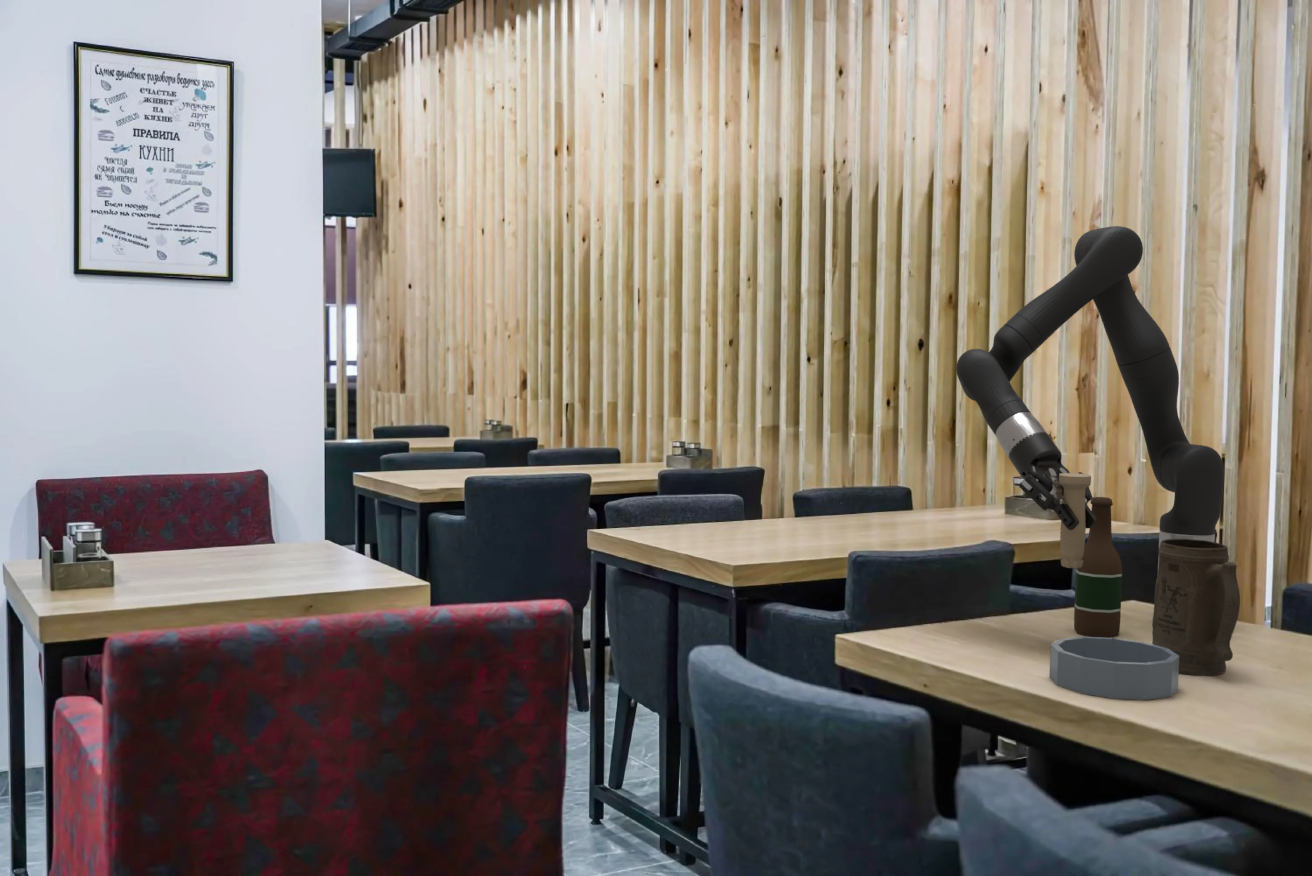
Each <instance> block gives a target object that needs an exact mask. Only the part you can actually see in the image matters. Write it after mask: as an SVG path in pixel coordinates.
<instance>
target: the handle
mask: <svg viewBox="0 0 1312 876" xmlns="http://www.w3.org/2000/svg"><path fill="white" fill-rule="evenodd" d="M1091 483H1092V475H1091V474H1086V473H1083V474H1078V472H1077V473H1073V472H1070V473H1062V474H1059V484H1060V485H1061V486H1063V488H1064V497H1063V498H1064V500H1065V502H1066V503H1065V504H1068V506H1069V507H1070V508H1071V510H1072V511H1073V513H1074V514H1075V516H1076V517H1077V519H1078V520H1079V524H1078V525H1077V526H1076V527H1075V528H1074V529H1073V530H1068V529H1067V527H1066V526H1065V525H1064V524H1063V523H1062V521H1061V520H1060V533H1059V534H1060V536H1059V541H1060V543H1059V545H1060V546H1059V547H1060V549H1059V550H1060V556H1061V557H1062V558H1060V565H1061V566H1062V567H1063V568H1067V569H1076V568H1081V567H1082V564H1083V560H1082V557H1083V555H1084V548H1085V544H1086V531H1087V530H1086V529H1087V528H1086V523H1085V489H1086V488H1087V487H1089V488H1090V486H1091ZM1065 504H1064V505H1065Z"/></svg>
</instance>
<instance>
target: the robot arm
mask: <svg viewBox="0 0 1312 876" xmlns="http://www.w3.org/2000/svg"><path fill="white" fill-rule="evenodd" d="M1073 252H1074V254H1073V255H1074V263H1075V267H1074V268H1073V269H1072V270H1070V272H1069V273H1068V274H1067V275H1065V276H1064V277H1063V278H1062V279H1060V280H1059V281H1058V282H1056V283H1055V284H1054V285H1053V286H1051V287H1050V288H1048V289H1047V290H1045V291H1044V292H1041V294H1039V295H1038V296H1036V297H1035V298H1033V299H1032V300H1030V301H1029V302H1028V303H1027V304H1025V305H1024V306H1023V307H1022V308H1021V309H1019V310H1018V311H1017V312H1016V313H1015V314H1014V315H1013V316H1012V317H1011V318H1010V319H1009V320H1007V322H1005V323H1004V324H1003V326H1001V327H1000V328H999V329H998V330H997V331H996V332H995V334H994V337H993V343H992V347H991V349H990V350H989V351H987V350H985V349H981V348H972V349H969V350H966V351H964V352H963V353H962V354H961V355H960V356H959V358H958V359H957V361H956V366H955V368H956V369H955V371H956V375H957V378H958V381H959V383H960V385H961V388H962V391H963V392H964V394H965V395H966V396H967V398H968V399H970V400H972V401H973V402H976V404H977V405H978V407H979V409H980V412H981V414H982V416H983V419H984V420H985V422H986V423H987V425H988V427H989V428H990V429H991V431H992V433H993V435H995V437H996V439H997V441H998V443H999V445H1000V447H1001V448H1002V450H1003V452H1004V453H1005V454H1006V457H1008V459H1009V460H1010V463H1011V464H1012V465H1013V466H1014V468H1015V469H1016V471H1017V473H1018V474H1019V475H1020V477H1021V478H1022V480H1021V482H1020V483H1018V487H1019V488H1020V489H1021V491H1023V492H1024V494H1026V495H1027V496H1028V497H1029V498H1030V499H1031V500H1032V501H1033V502H1034V503H1035V504H1036V505H1038V506H1039V507H1040V508H1041V509H1042V510H1043V511H1047V510H1050V511H1051V512H1052V513H1054V514H1056V515H1057V517H1058V518H1059V520H1060V522H1061V521H1062V523H1063V524H1064V525H1065V526H1066V527H1067V529H1068V530H1073V529H1074V528H1075V527H1076V526H1077V525H1078V524H1079V520H1078V519H1077V517H1076V516H1075V514H1074V513H1073V511H1072V510H1071V508H1070V507H1069V506H1068V504H1065V503H1066V502H1065V500H1064V498H1063V497H1064V488H1063V486H1061V485H1060V484H1059V474H1062V473H1071V472H1070V471H1069V469H1067V467H1066V466H1064V465H1063V464H1062V455H1063V454H1062V451H1061V450H1060V449H1059V448H1058V446H1057V445H1056V443H1055V441H1054V440H1053V439H1052V437H1051V436H1050V435H1049V433H1048V432H1047V431H1046V429H1045V427H1044V426H1043V425H1042V424H1041V422H1040V421H1039V420H1038V419H1037V418H1036V417H1035V416H1034V414H1033V413H1032V412H1031V411H1030V410H1029V407H1027V405H1026V404H1025V402H1024V401H1023V400H1022V398H1021V397H1020V396H1019V395H1018V393H1017V392H1016V391H1015V390H1014V388H1013V386H1012V385H1011V383H1010V382H1011V381H1012V379H1013V378H1014V377H1015V375H1016V374H1017V373H1018V371H1019V369H1020V368H1021V366H1022V365H1023V363H1024V362H1025V360H1027V359H1028V358H1029V357H1030V356H1031V355H1032V354H1034V352H1035V351H1036V350H1038V348H1040V347H1041V346H1042V345H1043V344H1044V343H1045V342H1046V341H1047V340H1048V339H1049V338H1051V336H1052V335H1053V334H1055V332H1056V331H1057V330H1059V328H1061V327H1062V326H1063V325H1064V324H1065V323H1066V322H1067V321H1069V319H1070V318H1072V317H1073V316H1075V314H1076V313H1078V311H1080V310H1081V309H1083V308H1084V307H1085V306H1087V304H1088V303H1090V302H1091V301H1092V300H1093V302H1094V305H1095V306H1096V310H1097V312H1098V314H1099V316H1100V319H1101V322H1102V325H1103V328H1104V331H1105V333H1106V334H1105V335H1106V336H1107V338H1108V342H1109V344H1110V346H1111V350H1112V352H1113V355H1114V357H1115V361H1116V364H1117V367H1118V370H1119V372H1120V376H1121V377H1122V379H1123V382H1124V385H1125V387H1126V388H1127V389H1126V390H1127V391H1128V394H1129V396H1130V400H1131V403H1132V405H1133V408H1134V411H1135V414H1136V416H1137V420H1138V421H1139V424H1140V427H1141V430H1142V434H1143V437H1144V442H1145V445H1146V449H1147V453H1148V457H1149V461H1150V466H1151V468H1152V472H1153V475H1154V477H1155V479H1156V480H1157V483H1158V484H1159V485H1160V486H1161V487H1162V488H1163V489H1165V490H1166V491H1169V492H1171V493H1174V501H1173V506H1172V507H1171V509H1170V510H1169V511H1168V512H1165V513H1163V514H1161V516H1160V518H1159V528H1158V529H1159V532H1158V533H1159V534H1158V535H1159V537H1158V549H1159V548H1160V543H1161V541H1163V540H1167V539H1192V540H1205V541H1210V542H1215V539H1216V538H1215V537H1216V528H1217V527H1216V526H1217V524H1218V522H1219V519H1220V518H1221V514H1222V506H1223V494H1224V486H1225V485H1224V484H1225V465H1224V463H1223V459H1222V457H1221V455H1220V454H1219V452H1218V451H1217V450H1215V449H1214V448H1213V447H1210V446H1208V445H1203V444H1193V443H1191V442H1190V441H1189V440H1188V438H1187V436H1186V434H1185V433H1186V432H1184V431H1185V430H1184V429H1183V426H1182V424H1181V421H1180V418H1179V414H1178V395H1179V389H1180V388H1179V385H1180V377H1179V374H1180V373H1179V368H1178V364H1177V363H1176V360H1175V357H1174V354H1173V351H1172V349H1171V346H1170V343H1169V341H1168V339H1167V337H1166V335H1165V334H1164V332H1163V330H1162V329H1161V327H1160V326H1159V325H1158V323H1157V322H1156V321H1155V320H1154V318H1153V317H1152V316H1151V315H1150V313H1149V312H1148V311H1147V310H1146V308H1145V307H1144V306H1143V304H1142V303H1141V302H1140V300H1139V298H1138V297H1137V295H1136V292H1135V291H1134V288H1133V286H1132V283H1131V280H1130V276H1129V274H1131V273H1132V272H1133V271H1134V270H1136V269H1137V267H1138V266H1139V265H1140V262H1141V261H1142V258H1143V253H1144V247H1143V242H1142V240H1141V237H1140V236H1139V235H1138V233H1137V232H1135V230H1132V229H1131V228H1129V227H1125V226H1119V225H1117V226H1116V225H1113V226H1106V227H1099V228H1095V229H1092V230H1089V231H1086V232H1085V233H1083V234H1082V235H1081V236H1080V237H1079V239H1078V240H1077V242H1076V245H1075V246H1074V251H1073ZM1077 474H1084V473H1083V472H1081V471H1079V472H1077ZM1040 495H1041V497H1040ZM1092 498H1093V495H1092V491H1091V490H1090V486H1089V487H1087V488H1086V489H1085V523H1086V529H1090V528H1092V527H1093V526H1094V525H1095V524H1096V522H1097V519H1096V517H1095V515H1094V514H1093V513H1092V511H1091V510H1092V509H1090V507H1089V505H1088V503H1089V502H1091V499H1092ZM1064 504H1065V505H1064ZM1215 543H1216V542H1215ZM1158 568H1159V556H1158V562H1157V569H1158Z"/></svg>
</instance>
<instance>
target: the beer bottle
mask: <svg viewBox="0 0 1312 876" xmlns="http://www.w3.org/2000/svg"><path fill="white" fill-rule="evenodd" d="M1092 497H1093V496H1092ZM1089 502H1090V503H1089V504H1091V509H1090V510H1091V511H1092V513H1093V514H1094V515H1095V517H1096V519H1097V522H1096V524H1095V525H1094V526H1093V527H1092V528H1088V537H1087V540H1086V542H1085V544H1084V545H1085V548H1084V555H1083V557H1082V560H1083V564H1082V567H1081V568H1075V580H1074V581H1075V583H1074V584H1075V585H1074V607H1073V608H1074V609H1073V622H1074V623H1073V624H1074V625H1073V627H1074V631H1075V632H1076V633H1077V635H1080V636H1083V637H1105V638H1116V637H1118V636H1119V635H1120V630H1121V629H1120V628H1121V613H1122V612H1121V611H1122V592H1123V591H1122V589H1123V588H1122V586H1123V565H1122V564H1123V563H1122V560H1121V557H1120V554H1119V552H1118V551H1117V549H1116V548H1115V545H1114V543H1113V536H1112V506H1113V505H1114V504H1113V499H1112V498H1110V497H1105V496H1095V497H1093V498H1092V499H1091V500H1090V501H1089Z"/></svg>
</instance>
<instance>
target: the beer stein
mask: <svg viewBox="0 0 1312 876" xmlns="http://www.w3.org/2000/svg"><path fill="white" fill-rule="evenodd" d="M1158 557H1159V568H1158V567H1157V578H1156V580H1155V586H1154V607H1153V615H1152V620H1151V621H1152V622H1151V624H1152V633H1151V636H1152V642H1151V644H1153V645H1157V646H1160V647H1164V648H1168V649H1170V650H1171V651H1173V652H1174V653H1176V654H1177V655H1179V674H1182V675H1188V676H1190V675H1191V676H1216V675H1221V674H1223V673H1225V672H1226V671H1227V665H1226V662H1229V661H1231V660H1232V659H1233V655H1234V654H1233V651H1232V648H1231V640H1232V637H1233V634H1234V631H1235V629H1236V625H1237V623H1238V618H1239V614H1240V606H1241V595H1240V594H1241V593H1240V587H1239V583H1238V578H1237V567H1238V566H1237V564H1236V563H1235V562H1232V561H1229V560H1230V556H1229V550H1228V546H1227V545H1224V544H1223V543H1219V542H1210V541H1205V540H1192V539H1167V540H1163V541H1161V543H1160V548H1159V547H1158Z"/></svg>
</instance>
